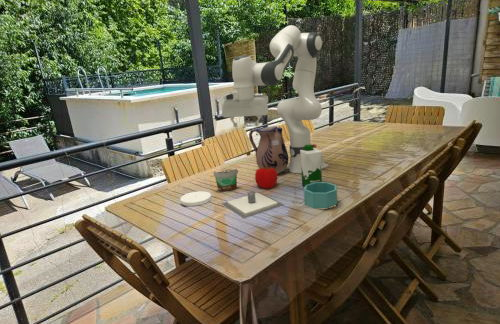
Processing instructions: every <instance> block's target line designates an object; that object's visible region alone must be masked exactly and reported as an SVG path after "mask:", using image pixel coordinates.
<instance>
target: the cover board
mask: <svg viewBox="0 0 500 324" xmlns="http://www.w3.org/2000/svg"><path fill="white" fill-rule="evenodd" d="M260 193H261V192H260ZM260 193H259V192H254V191H250V192H248V193H247V195H244V196H242V197H238V198H235V199H232V200H228V201H226V202H227V204H228V205H230V206H232V207H233V208H235V209H236V210H238V211H239V212H241V213H243V214H244V215H249V214H252V213H255V212H258V211H261V210H264V209H267V208H270V207H273V206H276V205H278V202H279V201H278V202H276V201H277V200H276V201H274V200H275V199H274V200H272V199H273V198H272V199H270V198H271V197H270V198H268V197H269V196H268V197H266V196H267V195H266V196H264V195H265V194H264V195H262V194H263V193H262V194H260Z"/></svg>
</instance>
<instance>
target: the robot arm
mask: <svg viewBox="0 0 500 324" xmlns="http://www.w3.org/2000/svg"><path fill="white" fill-rule="evenodd" d="M322 48H323V38H322V36H321V35H320V34H319V33H318V32H315V31H313V32H302V33H301V31H300V29H299V28H298V27H297V26H295V25H292V24H291V25H287V26H285V27H283V29H281V30H279V31H278V32H277V33H275V35H274V37H273V38H272V39H271V40H270V43H269V50H270V53H271V55H272V56H273V57H274V58H275V59H274V60H273V61H267V62H259V63H258V62H257V61H255V60H253V59H252V57H251V55H248V54H245V55H239V56H236V57H234V58H233V59H232V64H231V66H232V67H231V71H232V72H231V74H232V80H233V87H232V88H233V91H230V92H229V93H227V94H224V95H223V100H224V101H223V102H222V106H221V116H222V117H223V118H230V122H232V124H233V128H238V122H235V118H238V117H256V118H257V121H254V127H259V122H260V120H261V117H262V116H267V115H269V108H268V107H269V106H268V104H269V96H268V95H267V94H266V93H255V87H254V86H257V87H258V86H259V87H260V86H262V87H263V86H270V87H275V86H278V85H279V84H280V83H281V81H282V79H283V77H284V74H285V72H286V70H287V68H288V66H289V64H290V62H292V60H293V57H297V62H296V65H295V69H294V75H293V81H292V88H293V89H294V91H296V92H297V93H298V98H287V99H282V100H280V101H279V102H278V104H277V107H276V112H277V115H278V116H279V117H280V118H281V119H282V120H283V121H284V123H285V125H286V127H287V129H288V135H289V154H290V157H289V158H290V159H289V165H288V171H289V172H290V173H294V174H302V170H301V154H300V150H304V146H305V145H313V148H316V149H317V147H318V145H317V144H315V143H313V144H312V143H311V130H310V129H309V127H307V126H306V125H305V124H304V123H303V121H313V120H317V119H318V118H320V116H321V114H322V109H323V108H322V104H321V102H320V101H319V100H318V99H317V97H316V95H315V92H314V91H315V90H314V87H315V80H316V73H317V57H318V55H319V53H320V52H321V50H322ZM328 167H329V165H328V163H325V162H324V157H323V156H322V155H321V170H323V169H326V168H328Z"/></svg>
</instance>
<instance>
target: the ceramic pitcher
mask: <svg viewBox="0 0 500 324" xmlns="http://www.w3.org/2000/svg"><path fill="white" fill-rule="evenodd" d="M255 132H256V133H258V135H259V137H260V138H259V141H258V145H257V144H256V142H255V141H254V138H253V133H255ZM248 137H249V138H248V139H249V141H250V144H251V146H252V148H253V151H254V152H255V160H256V164H257V165H256V166H258V169H259V168H262V167H270V168H274V169H275V170H276V172H277V175H278V174H280V173H282V172H284V171H285V170H286V168H287V167H288V166H289V165H288V164H289V154H288V153H289V152H288V151H287V150H288V149H287V147H286V144H285V141H284V138H283V128H282V127H278V125H270V126H263V127H259V128H258V127H257V128H252V129H251V130H250V131H249V133H248Z"/></svg>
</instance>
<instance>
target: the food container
mask: <svg viewBox="0 0 500 324" xmlns="http://www.w3.org/2000/svg"><path fill="white" fill-rule="evenodd" d="M238 174H239V171H238V168H237V167H236V168H235V169H232V170H231V169H230V170H229V169H228V170H222V171H220V172H216V171H214V172H213V177H214V178H215V181H216V186H217V190H218V191H219V192H222V193H224V192H231V191H234V190H236V189H237V188H238V185H237V179H238Z"/></svg>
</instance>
